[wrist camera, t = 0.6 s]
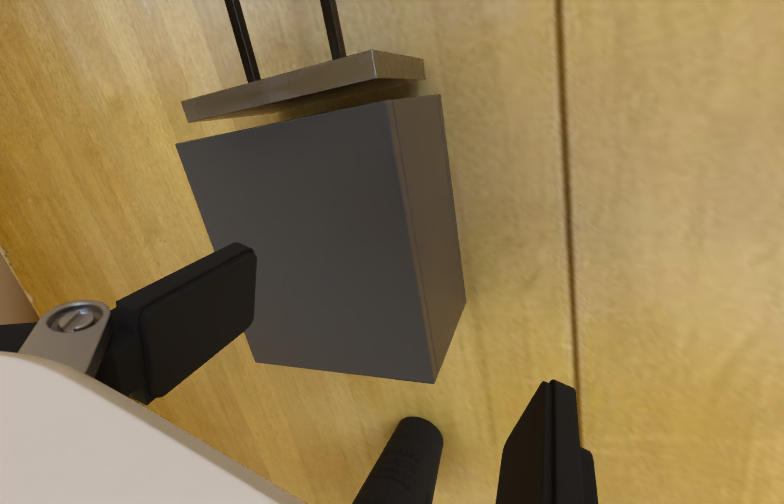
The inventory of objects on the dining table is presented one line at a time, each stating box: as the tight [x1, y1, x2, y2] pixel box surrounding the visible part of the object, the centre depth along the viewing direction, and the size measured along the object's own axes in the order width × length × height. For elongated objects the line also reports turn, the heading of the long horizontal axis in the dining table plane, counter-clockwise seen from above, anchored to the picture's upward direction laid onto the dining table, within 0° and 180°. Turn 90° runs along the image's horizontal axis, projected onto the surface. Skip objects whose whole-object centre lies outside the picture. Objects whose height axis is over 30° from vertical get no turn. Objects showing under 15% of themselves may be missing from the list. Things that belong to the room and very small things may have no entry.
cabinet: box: [175, 94, 466, 384], centre depth 26 cm, size 16×14×10 cm
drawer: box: [181, 0, 426, 123], centre depth 24 cm, size 21×12×8 cm, turn 11°
